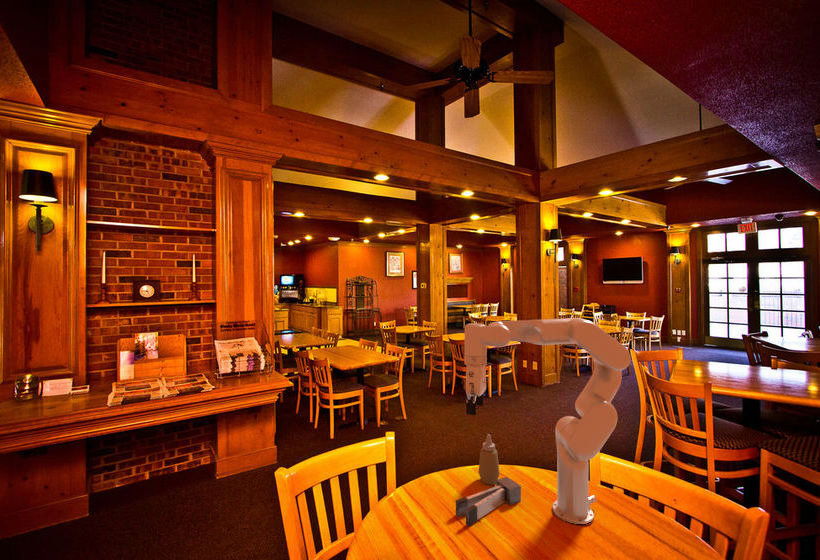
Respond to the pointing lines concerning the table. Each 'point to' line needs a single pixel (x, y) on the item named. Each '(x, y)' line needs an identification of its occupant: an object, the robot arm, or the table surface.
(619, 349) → the robot arm
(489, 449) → the squeeze bottle
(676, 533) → the table surface
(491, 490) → the tong base
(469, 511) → the tong arm
